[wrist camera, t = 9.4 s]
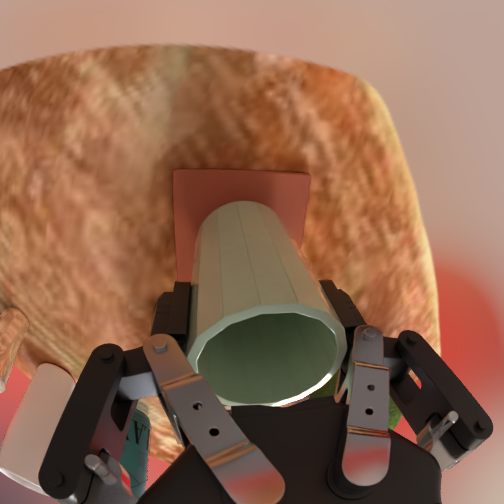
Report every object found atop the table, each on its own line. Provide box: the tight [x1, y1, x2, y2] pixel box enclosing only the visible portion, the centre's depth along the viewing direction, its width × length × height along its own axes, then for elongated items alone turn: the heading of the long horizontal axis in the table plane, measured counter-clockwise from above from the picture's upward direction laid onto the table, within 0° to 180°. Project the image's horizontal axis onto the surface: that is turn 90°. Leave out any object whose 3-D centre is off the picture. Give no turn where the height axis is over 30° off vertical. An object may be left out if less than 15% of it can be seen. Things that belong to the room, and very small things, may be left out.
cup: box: [186, 201, 347, 407], centre depth 14 cm, size 6×6×10 cm
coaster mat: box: [173, 169, 311, 282], centre depth 20 cm, size 9×9×1 cm
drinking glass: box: [0, 363, 75, 496], centre depth 19 cm, size 7×7×15 cm
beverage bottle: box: [119, 409, 152, 498], centre depth 21 cm, size 6×7×20 cm
